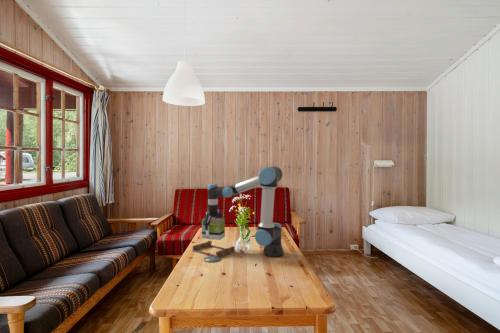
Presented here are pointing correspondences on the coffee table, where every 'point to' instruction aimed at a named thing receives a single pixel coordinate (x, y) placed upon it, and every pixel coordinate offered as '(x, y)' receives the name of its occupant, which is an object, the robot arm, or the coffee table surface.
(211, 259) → the trivet
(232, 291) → the coffee table surface
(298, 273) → the coffee table surface
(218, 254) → the caddy
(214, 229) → the tea box
